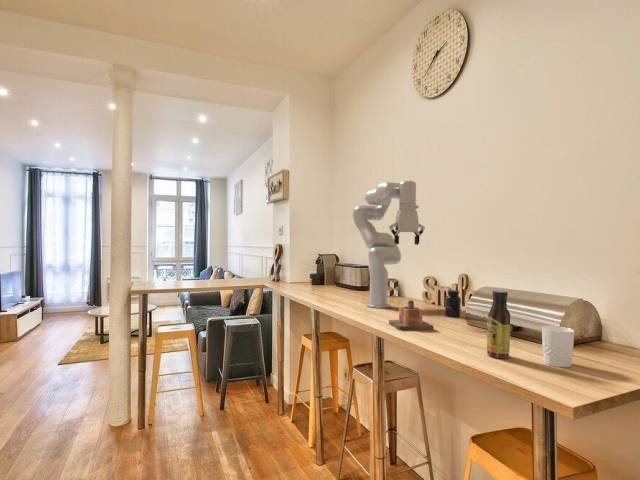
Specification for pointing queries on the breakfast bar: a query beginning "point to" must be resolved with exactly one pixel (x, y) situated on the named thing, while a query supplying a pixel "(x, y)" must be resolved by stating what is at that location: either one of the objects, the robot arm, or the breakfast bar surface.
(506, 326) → the sauce bottle
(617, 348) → the breakfast bar surface
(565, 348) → the white cup
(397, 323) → the post board
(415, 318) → the reddish brown box
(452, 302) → the supplement bottle
